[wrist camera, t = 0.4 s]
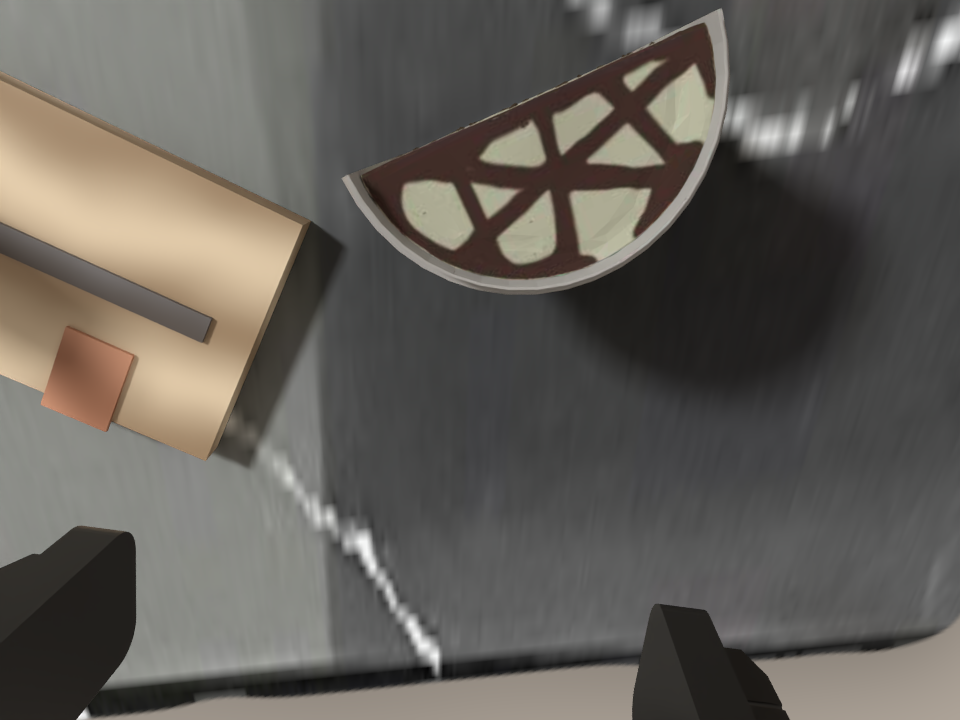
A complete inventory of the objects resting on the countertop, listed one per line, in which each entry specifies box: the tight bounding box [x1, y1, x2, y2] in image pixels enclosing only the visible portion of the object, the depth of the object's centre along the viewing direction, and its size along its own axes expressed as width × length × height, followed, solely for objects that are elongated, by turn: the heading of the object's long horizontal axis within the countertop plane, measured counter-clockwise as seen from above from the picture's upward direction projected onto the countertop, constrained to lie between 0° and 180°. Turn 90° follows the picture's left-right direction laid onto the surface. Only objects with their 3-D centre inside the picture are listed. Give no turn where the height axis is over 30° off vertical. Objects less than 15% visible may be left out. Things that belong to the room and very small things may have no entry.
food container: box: [342, 8, 730, 294], centre depth 25 cm, size 12×6×10 cm, turn 113°
